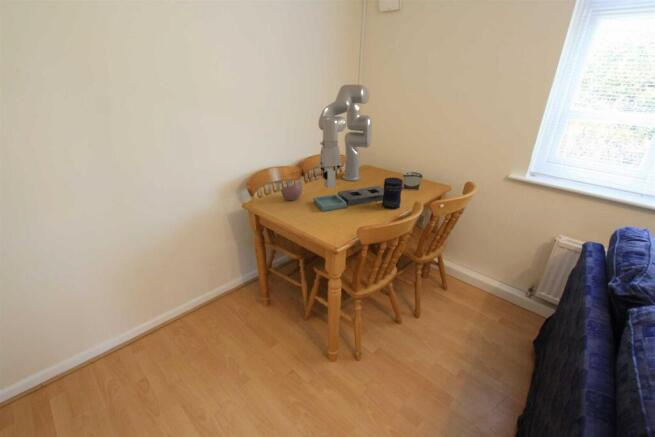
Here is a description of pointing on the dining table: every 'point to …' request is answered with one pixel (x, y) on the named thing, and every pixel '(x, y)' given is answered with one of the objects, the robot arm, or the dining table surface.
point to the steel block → (330, 178)
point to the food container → (412, 180)
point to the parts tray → (329, 202)
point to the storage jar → (392, 193)
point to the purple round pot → (291, 191)
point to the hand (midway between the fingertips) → (329, 177)
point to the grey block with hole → (362, 195)
